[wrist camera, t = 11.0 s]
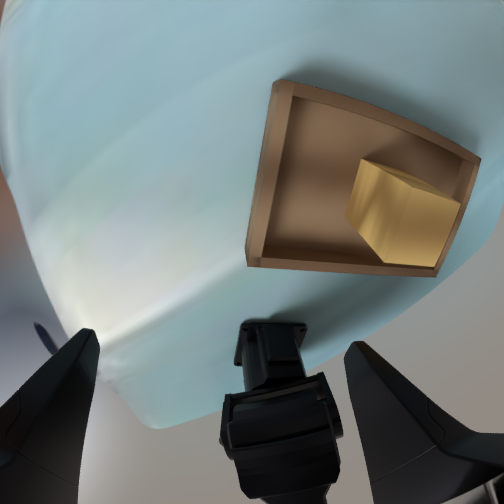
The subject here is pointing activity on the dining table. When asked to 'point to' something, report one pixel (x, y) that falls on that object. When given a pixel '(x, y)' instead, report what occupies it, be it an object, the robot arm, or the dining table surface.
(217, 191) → the dining table surface
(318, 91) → the walnut tray
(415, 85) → the dining table surface
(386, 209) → the ochre block
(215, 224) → the dining table surface
